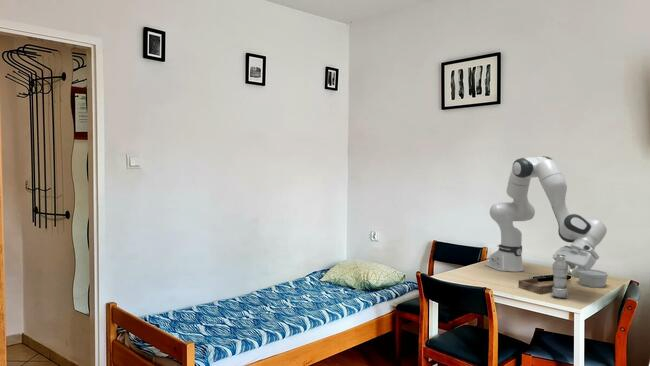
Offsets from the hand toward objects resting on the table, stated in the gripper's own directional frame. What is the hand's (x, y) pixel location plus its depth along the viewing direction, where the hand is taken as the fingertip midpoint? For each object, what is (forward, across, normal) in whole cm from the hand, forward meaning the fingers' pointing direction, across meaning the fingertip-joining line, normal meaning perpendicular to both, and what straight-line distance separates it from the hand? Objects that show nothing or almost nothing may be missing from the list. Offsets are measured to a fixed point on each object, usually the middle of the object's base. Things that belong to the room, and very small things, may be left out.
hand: (563, 271), depth 216 cm
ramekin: (-13, -14, +31) cm, 37 cm away
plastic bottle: (+10, 0, +8) cm, 13 cm away
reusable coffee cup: (-19, -30, +37) cm, 52 cm away
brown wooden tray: (+10, -14, +8) cm, 19 cm away
